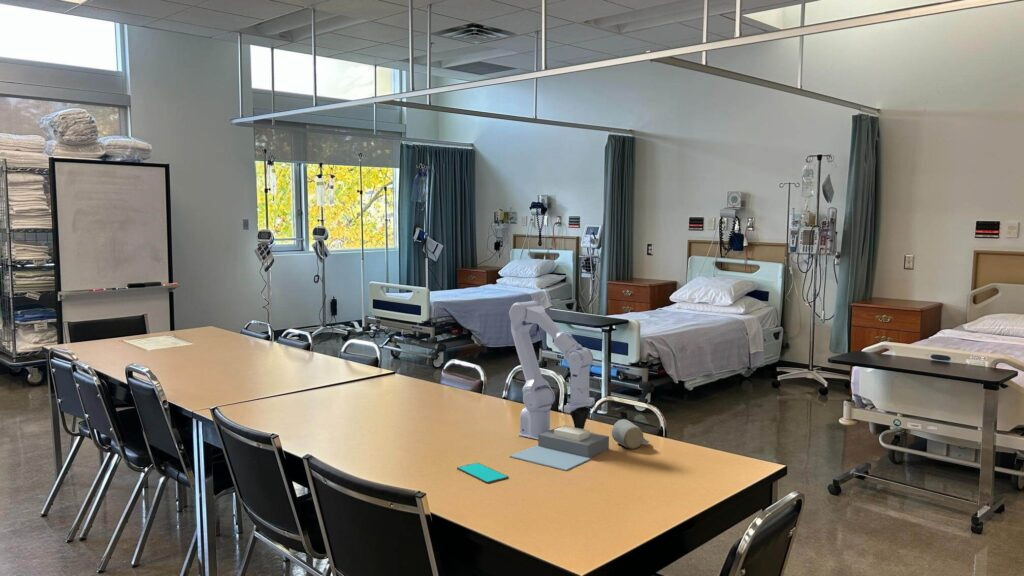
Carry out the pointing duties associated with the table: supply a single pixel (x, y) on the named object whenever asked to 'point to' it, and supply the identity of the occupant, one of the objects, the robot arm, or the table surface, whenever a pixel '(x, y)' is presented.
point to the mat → (550, 458)
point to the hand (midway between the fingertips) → (579, 430)
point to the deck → (575, 444)
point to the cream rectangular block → (572, 433)
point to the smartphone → (482, 473)
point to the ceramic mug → (628, 434)
